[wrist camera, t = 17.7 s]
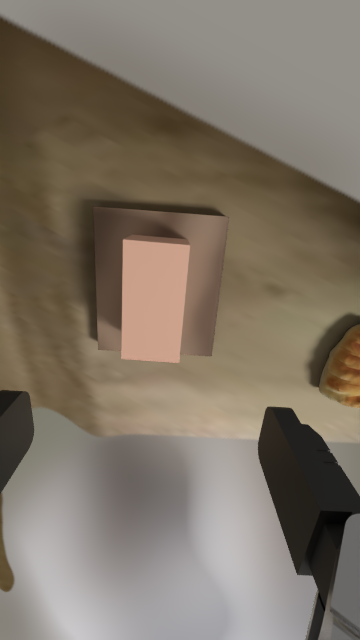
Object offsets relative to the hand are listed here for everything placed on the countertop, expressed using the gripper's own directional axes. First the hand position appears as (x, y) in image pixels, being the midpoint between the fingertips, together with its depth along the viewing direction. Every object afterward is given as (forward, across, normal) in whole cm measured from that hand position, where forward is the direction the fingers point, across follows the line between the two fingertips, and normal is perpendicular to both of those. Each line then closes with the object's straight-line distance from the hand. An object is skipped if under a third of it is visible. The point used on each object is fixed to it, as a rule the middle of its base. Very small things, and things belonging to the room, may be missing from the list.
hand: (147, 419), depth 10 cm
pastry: (+21, -21, +8) cm, 31 cm away
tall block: (+16, +1, +6) cm, 17 cm away
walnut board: (+20, +1, 0) cm, 20 cm away
